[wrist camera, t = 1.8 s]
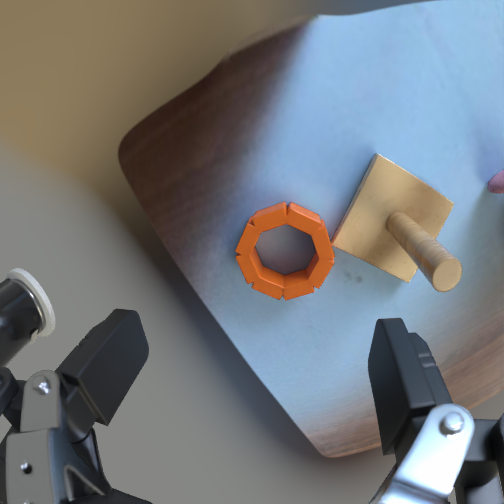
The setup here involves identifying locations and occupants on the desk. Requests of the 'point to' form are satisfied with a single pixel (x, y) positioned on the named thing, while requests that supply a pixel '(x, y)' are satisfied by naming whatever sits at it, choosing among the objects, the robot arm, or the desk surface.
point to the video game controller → (497, 183)
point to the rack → (399, 226)
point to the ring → (273, 280)
